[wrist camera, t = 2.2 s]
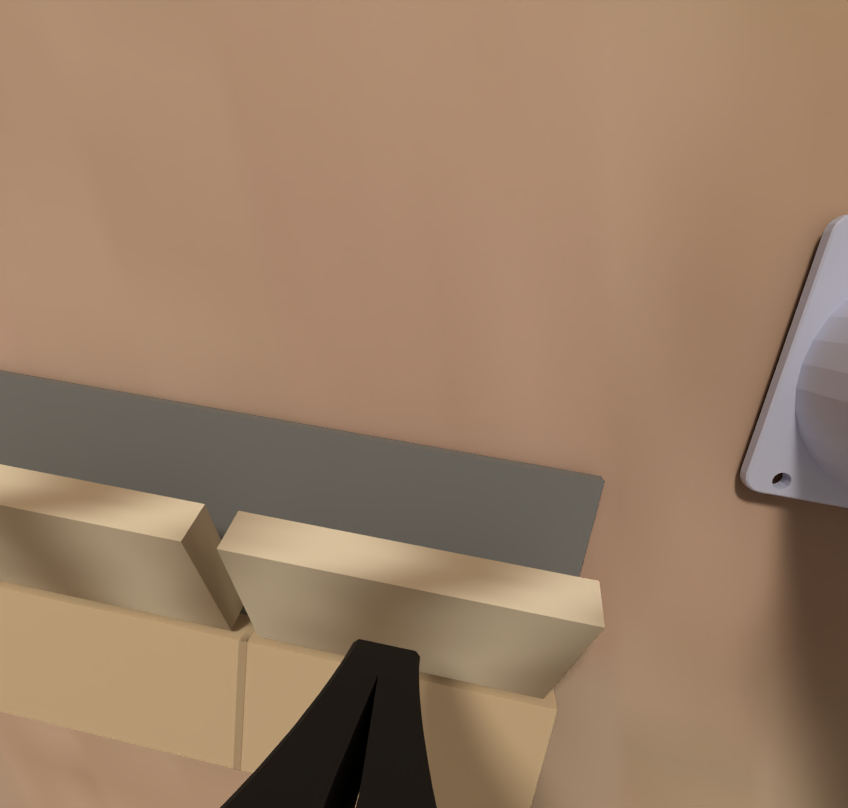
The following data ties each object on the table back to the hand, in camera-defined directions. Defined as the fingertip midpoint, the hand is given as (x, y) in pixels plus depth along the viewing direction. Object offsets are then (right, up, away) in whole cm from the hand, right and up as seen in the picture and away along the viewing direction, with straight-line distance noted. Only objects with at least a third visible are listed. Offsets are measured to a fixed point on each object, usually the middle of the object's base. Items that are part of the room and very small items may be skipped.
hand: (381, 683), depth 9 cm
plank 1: (-10, +2, +6) cm, 12 cm away
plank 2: (0, 0, +5) cm, 5 cm away
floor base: (-5, -1, +8) cm, 9 cm away
